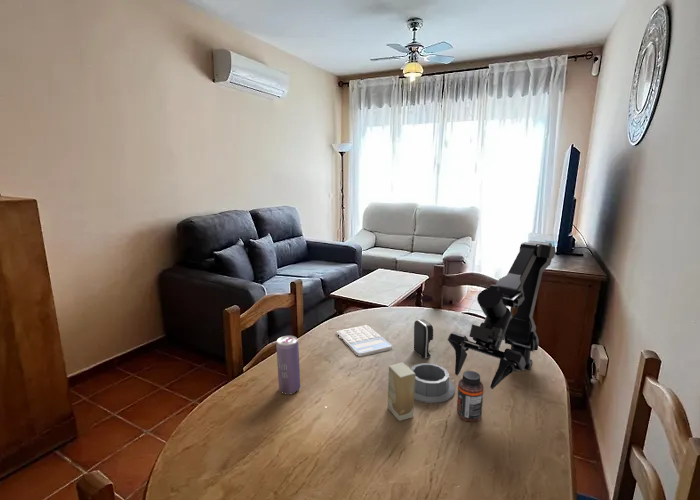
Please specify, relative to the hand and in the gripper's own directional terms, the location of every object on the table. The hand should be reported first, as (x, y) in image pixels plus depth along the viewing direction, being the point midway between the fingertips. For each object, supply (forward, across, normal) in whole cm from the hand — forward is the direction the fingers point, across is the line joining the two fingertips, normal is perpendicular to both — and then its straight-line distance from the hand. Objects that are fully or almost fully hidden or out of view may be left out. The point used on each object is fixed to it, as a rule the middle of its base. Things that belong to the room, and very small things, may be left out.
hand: (473, 381), depth 96 cm
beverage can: (+23, -43, -10) cm, 50 cm away
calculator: (-2, -47, +16) cm, 50 cm away
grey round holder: (+4, -14, +8) cm, 17 cm away
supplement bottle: (+7, 0, +6) cm, 9 cm away
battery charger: (-7, -26, +20) cm, 33 cm away
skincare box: (+15, -13, -2) cm, 20 cm away
